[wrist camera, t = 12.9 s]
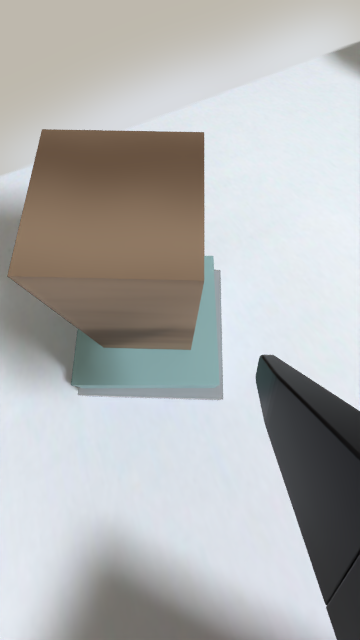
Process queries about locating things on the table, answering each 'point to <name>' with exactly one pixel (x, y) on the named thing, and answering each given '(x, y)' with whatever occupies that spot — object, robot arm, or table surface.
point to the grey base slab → (173, 392)
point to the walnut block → (116, 234)
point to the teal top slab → (155, 355)
